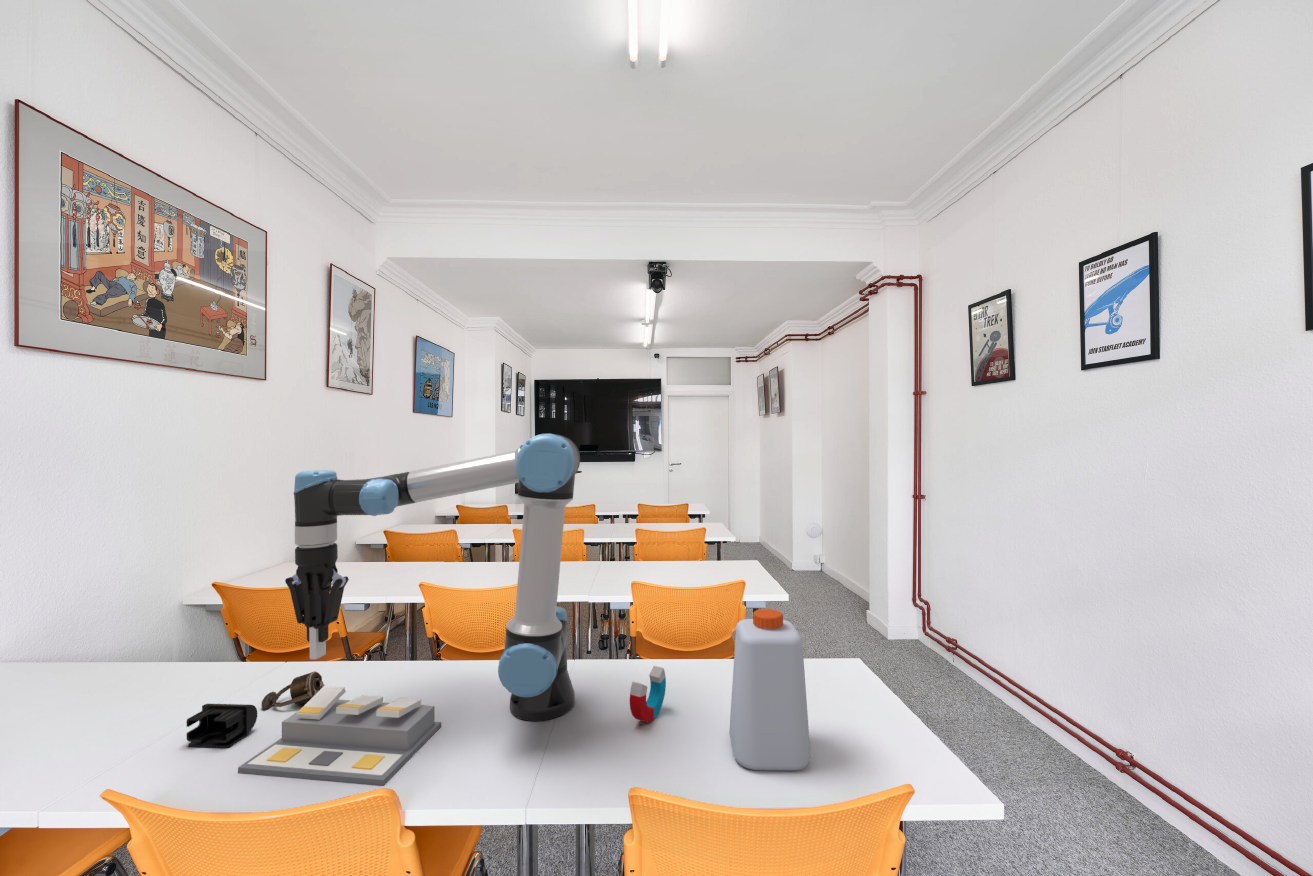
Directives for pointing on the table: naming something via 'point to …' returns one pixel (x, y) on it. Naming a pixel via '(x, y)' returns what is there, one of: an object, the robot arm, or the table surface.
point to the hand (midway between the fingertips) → (317, 656)
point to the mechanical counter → (297, 691)
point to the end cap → (221, 725)
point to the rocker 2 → (398, 707)
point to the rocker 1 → (321, 702)
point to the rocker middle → (359, 705)
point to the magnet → (652, 706)
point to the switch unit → (345, 746)
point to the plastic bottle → (769, 695)
